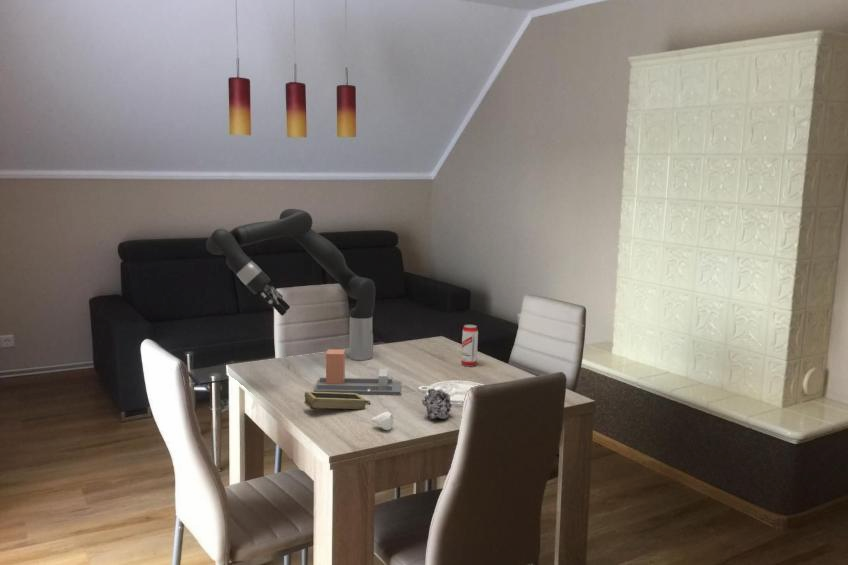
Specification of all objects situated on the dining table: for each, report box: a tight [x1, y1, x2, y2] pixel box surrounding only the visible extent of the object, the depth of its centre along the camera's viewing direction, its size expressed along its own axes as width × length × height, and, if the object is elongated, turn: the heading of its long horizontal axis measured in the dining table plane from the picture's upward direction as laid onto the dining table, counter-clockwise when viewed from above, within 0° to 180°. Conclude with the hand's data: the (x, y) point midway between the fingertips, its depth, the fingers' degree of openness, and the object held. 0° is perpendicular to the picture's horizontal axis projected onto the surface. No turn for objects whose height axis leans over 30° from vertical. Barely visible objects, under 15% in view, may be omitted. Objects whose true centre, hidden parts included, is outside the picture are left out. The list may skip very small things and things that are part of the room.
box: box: [303, 390, 371, 411], centre depth 235 cm, size 8×22×5 cm, turn 120°
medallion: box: [417, 379, 484, 408], centre depth 252 cm, size 24×27×2 cm
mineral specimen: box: [421, 389, 453, 421], centre depth 230 cm, size 13×10×11 cm
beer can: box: [460, 324, 479, 368], centre depth 288 cm, size 6×6×16 cm
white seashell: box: [371, 411, 394, 431], centre depth 218 cm, size 6×6×5 cm
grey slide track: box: [313, 368, 402, 396], centre depth 255 cm, size 30×12×6 cm, turn 92°
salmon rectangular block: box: [325, 348, 346, 384], centre depth 254 cm, size 6×6×12 cm
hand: (286, 311), depth 250 cm, fingers open, 8 cm apart
